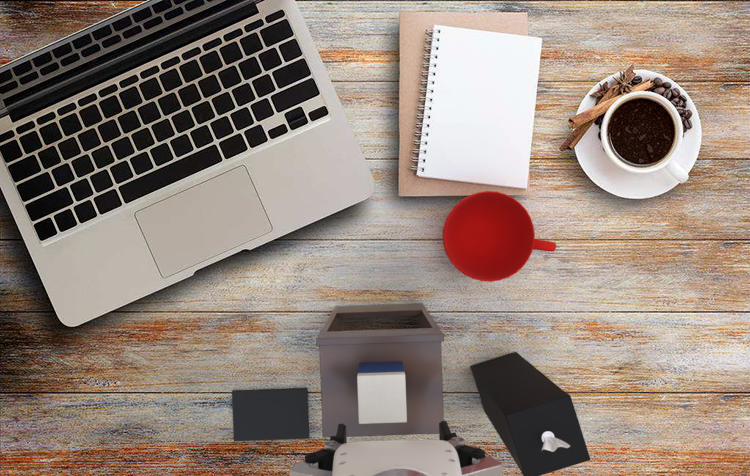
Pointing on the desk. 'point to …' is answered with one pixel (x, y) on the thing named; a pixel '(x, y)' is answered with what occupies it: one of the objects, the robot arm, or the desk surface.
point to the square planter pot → (381, 346)
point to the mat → (270, 414)
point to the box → (381, 392)
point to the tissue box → (530, 415)
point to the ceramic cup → (490, 236)
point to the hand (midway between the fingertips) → (392, 437)
